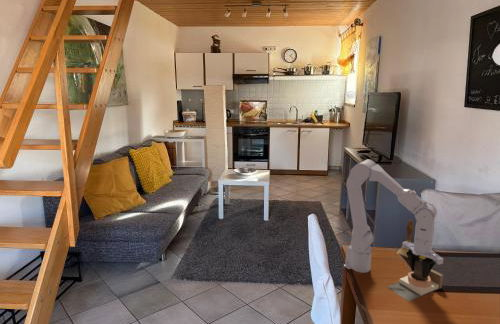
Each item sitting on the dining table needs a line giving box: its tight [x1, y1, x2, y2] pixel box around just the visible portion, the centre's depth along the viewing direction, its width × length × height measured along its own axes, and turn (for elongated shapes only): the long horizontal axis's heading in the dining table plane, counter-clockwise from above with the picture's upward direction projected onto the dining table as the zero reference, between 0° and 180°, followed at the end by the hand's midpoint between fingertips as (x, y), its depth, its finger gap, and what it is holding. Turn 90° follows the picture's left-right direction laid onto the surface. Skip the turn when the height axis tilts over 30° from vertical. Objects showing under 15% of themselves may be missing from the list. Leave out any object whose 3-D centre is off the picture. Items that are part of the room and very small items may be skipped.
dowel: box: [413, 258, 426, 281], centre depth 120 cm, size 4×4×7 cm
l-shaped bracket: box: [386, 268, 444, 302], centre depth 120 cm, size 10×17×6 cm, turn 117°
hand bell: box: [396, 219, 414, 259], centre depth 144 cm, size 8×8×16 cm
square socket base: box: [398, 271, 439, 296], centre depth 121 cm, size 9×9×4 cm
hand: (419, 273), depth 121 cm, fingers closed on dowel, 4 cm apart
